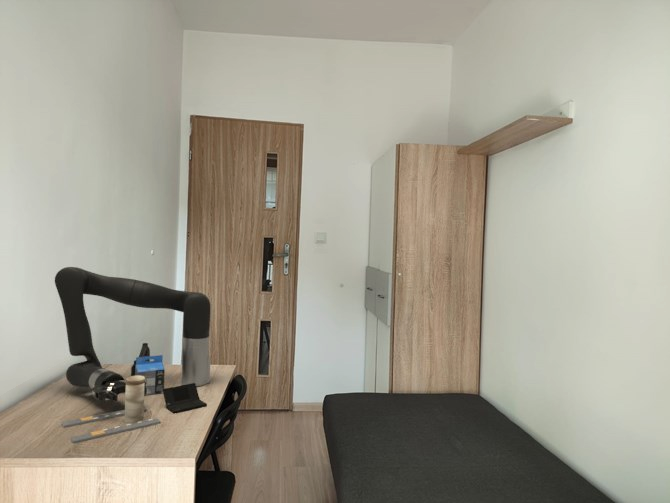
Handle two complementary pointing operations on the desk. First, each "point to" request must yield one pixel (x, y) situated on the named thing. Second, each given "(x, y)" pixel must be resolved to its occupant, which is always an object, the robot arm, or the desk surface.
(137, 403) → the cream stub
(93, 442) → the desk surface
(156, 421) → the dashed lane plates
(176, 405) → the handheld gaming console
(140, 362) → the label tape cartridge
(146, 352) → the black tall piece
